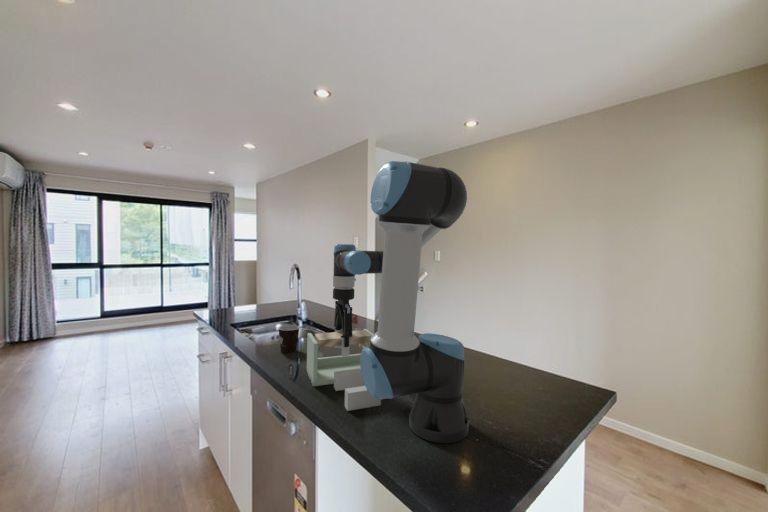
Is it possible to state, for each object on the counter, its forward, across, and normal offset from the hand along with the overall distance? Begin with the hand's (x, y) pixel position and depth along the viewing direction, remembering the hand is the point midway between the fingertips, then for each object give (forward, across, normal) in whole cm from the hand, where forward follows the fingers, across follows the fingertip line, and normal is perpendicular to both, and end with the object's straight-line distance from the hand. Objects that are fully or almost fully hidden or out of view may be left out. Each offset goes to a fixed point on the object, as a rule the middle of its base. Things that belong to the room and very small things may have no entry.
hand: (342, 351), depth 114 cm
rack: (+8, -17, 0) cm, 19 cm away
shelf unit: (+8, 0, 0) cm, 8 cm away
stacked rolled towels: (-3, 0, 0) cm, 3 cm away
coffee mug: (+9, +30, +15) cm, 35 cm away
